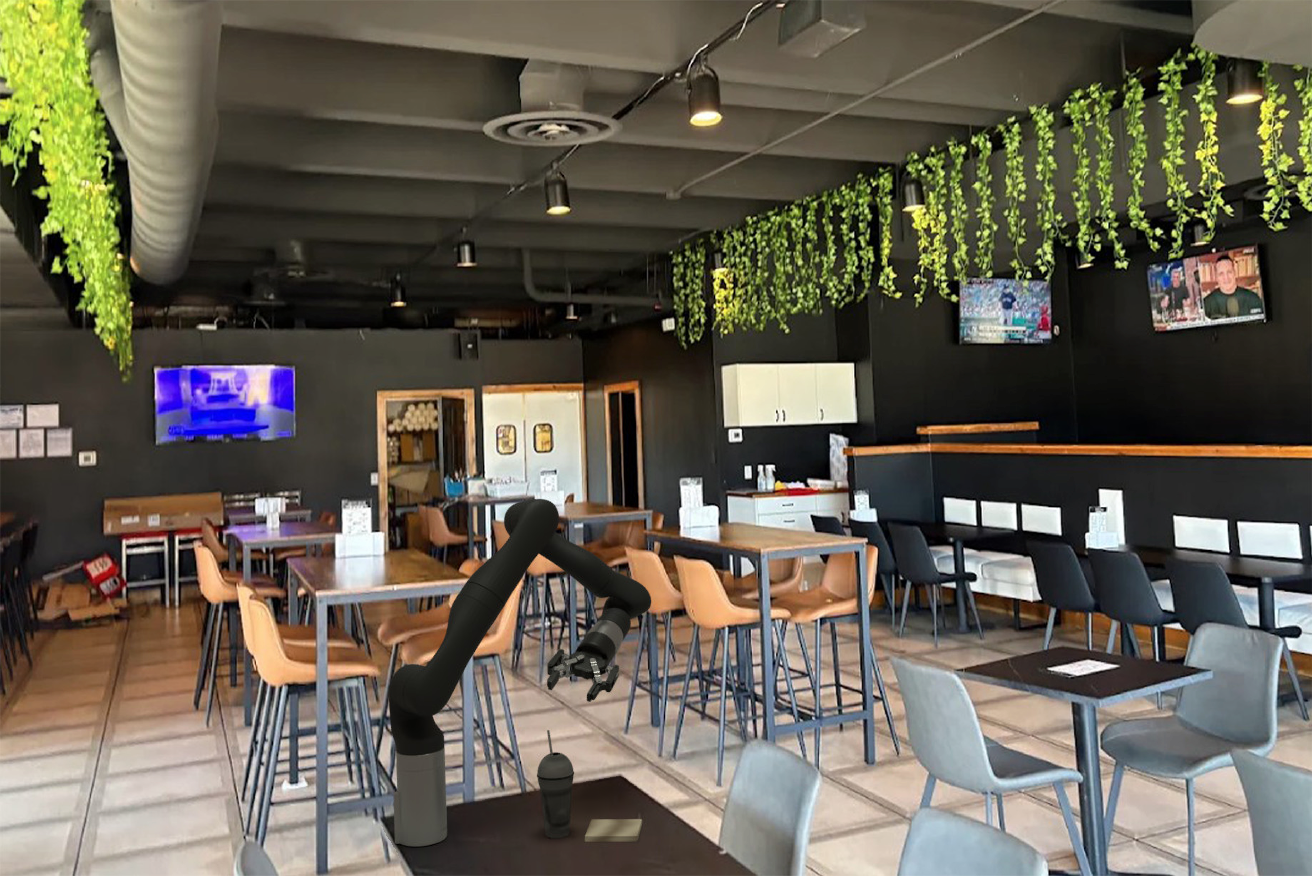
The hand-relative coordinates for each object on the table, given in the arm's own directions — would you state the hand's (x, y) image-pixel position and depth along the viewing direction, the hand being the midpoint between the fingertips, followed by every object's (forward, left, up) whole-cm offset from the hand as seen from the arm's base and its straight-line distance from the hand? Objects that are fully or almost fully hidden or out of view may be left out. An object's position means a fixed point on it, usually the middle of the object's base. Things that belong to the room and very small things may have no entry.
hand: (568, 692), depth 205 cm
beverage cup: (-2, -7, -26) cm, 27 cm away
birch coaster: (+9, -6, -26) cm, 28 cm away
